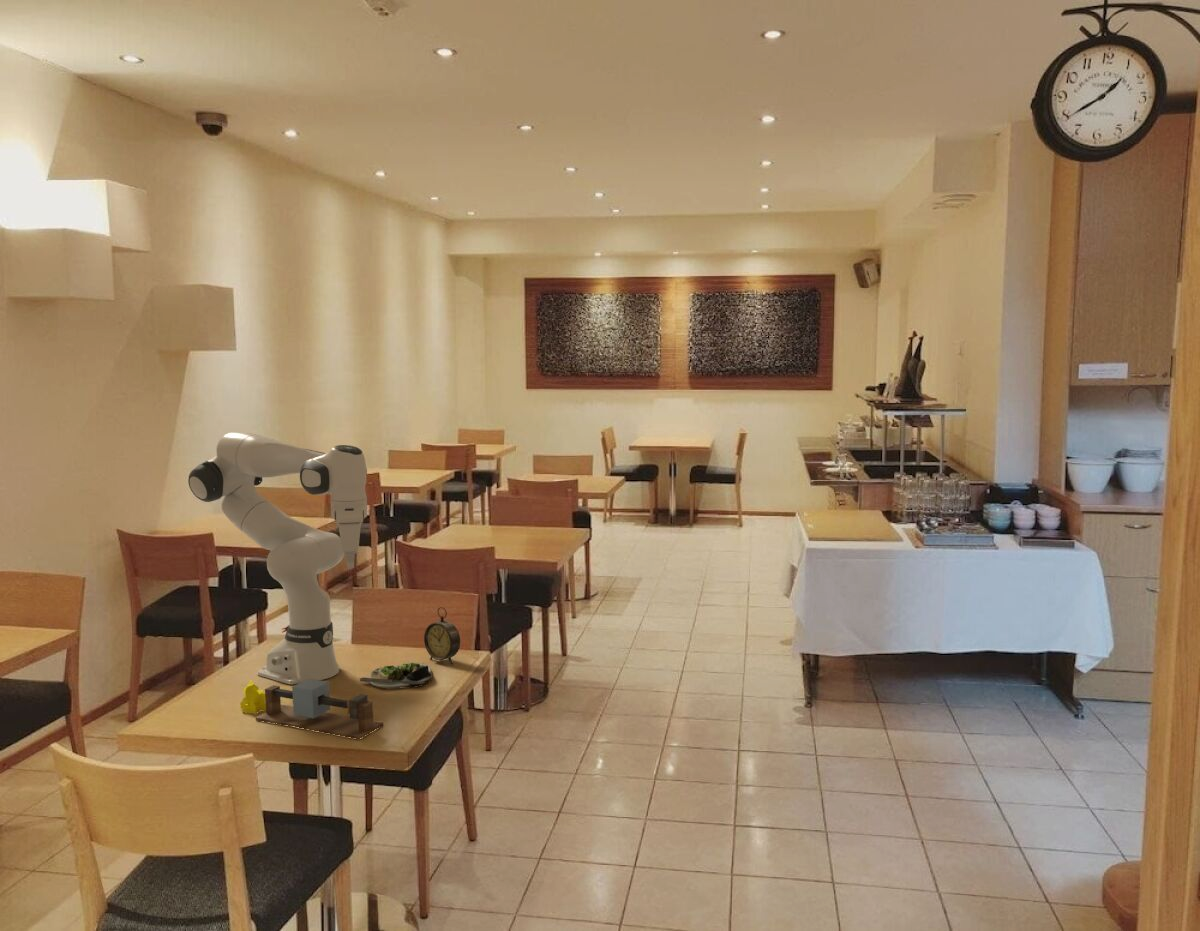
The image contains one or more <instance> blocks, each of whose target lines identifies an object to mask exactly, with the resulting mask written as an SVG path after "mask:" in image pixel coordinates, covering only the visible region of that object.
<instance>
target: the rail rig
mask: <svg viewBox="0 0 1200 931" xmlns="http://www.w3.org/2000/svg"><path fill="white" fill-rule="evenodd" d="M264 693H265V702H266V711H265V712H264V713H261V714H260V715H258V716H256V717H255V721H256V720H258V721H257V722H261V721H264V722H263V723H266V722H270V723H269V724H271V723H275V724H274V725H277V724H281V725H280V726H282V725H288V726H295V727H299V728H304V729H309V730H314V731H319V732H324V733H330V734H335V735H340V736H345V737H351V738H356V739H360V738H362V737H364V736H365V735H367V734H369V733H370V732H372V731H374V730H375V729H377V728H379V727H380V728H382V727H383V726H384V722H381V721H375V720H374V705H373V704H374V702H373V701H370V700H368V699H369V698H368V694H364V693H359V694H357V695H356V696H353V697H352V698H349V699H342V698H335V697H330V696H329V697H325V696H319V697H318V704H324V705H329V706H330V707H335V708H342V709H346V710H347V715H348V716H347V715H342V714H336V713H331V712H327V711H326V712H324V713H323V714H321V715H319V716H317V717H315V718H309V717H303V716H298V715H294V712H293V705H292V706H291V705H286V704H281V702H282V700H281V698H284V699H289V700H293V692H292V690H290V689H282V688H281V686H280V685H274V684H273V685H271V686H268V687H267V688H266V687H265V689H264ZM276 723H277V724H276ZM381 726H382V727H381ZM380 728H379V729H380ZM377 730H378V729H377ZM314 731H313V732H314ZM319 732H318V733H319ZM374 732H375V731H374ZM324 733H323V734H324ZM372 733H373V732H372ZM330 734H329V735H330ZM335 735H334V736H335ZM369 735H370V734H369ZM340 736H339V737H340ZM367 736H368V735H367ZM345 737H344V738H345ZM351 738H350V739H351ZM364 738H365V737H364ZM356 739H355V740H356Z"/></svg>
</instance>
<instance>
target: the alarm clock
mask: <svg viewBox="0 0 1200 931" xmlns="http://www.w3.org/2000/svg"><path fill="white" fill-rule="evenodd" d="M440 609H443V610H444V613H445V614H444V615H445V616H444V615H443V616H442V615H441V614H440V613H439V611H440ZM436 613H437V615H438V616H439V618H440V620H439V621H436V622H432V623H430V624H429V625H428V626H427V627H426V629H425V631H424V635H423V641H424V646H425V649H426V652H427V654H428V655H429V656H430V657H429V660H430V659H432V660H433V659H434V660H436V661H444V660H447V659H448V660H449V662H450V664H453V665H454V663H453V660H452V658H453V657H454V656H455V655H457V653H458V652H459V650H460V648H461V637H460V632H459V631H458V629H457V627H456V626H455V625H454V624H453V623H452V622H450V621H448V620H444V619H445V618H446V617H447V613H448V612H447V610H446V608H445V607H443V606H439V607H438V608H437V612H436Z"/></svg>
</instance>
